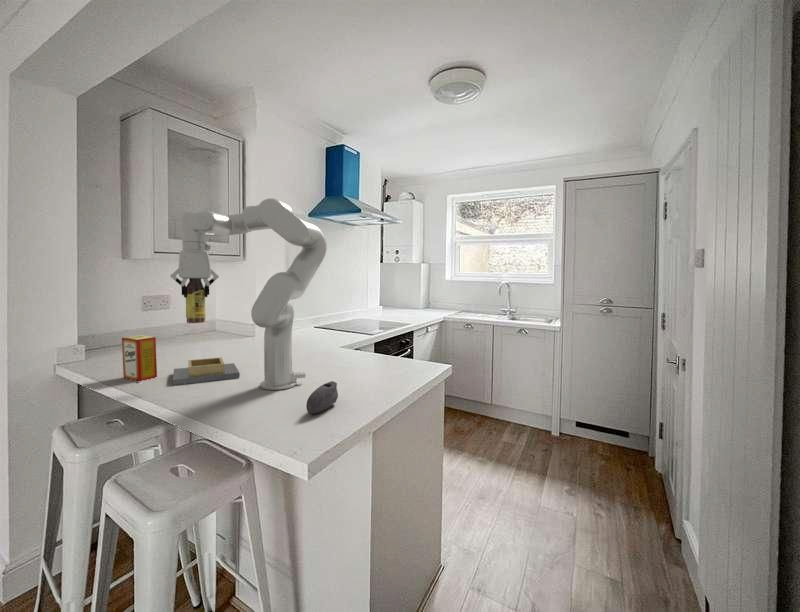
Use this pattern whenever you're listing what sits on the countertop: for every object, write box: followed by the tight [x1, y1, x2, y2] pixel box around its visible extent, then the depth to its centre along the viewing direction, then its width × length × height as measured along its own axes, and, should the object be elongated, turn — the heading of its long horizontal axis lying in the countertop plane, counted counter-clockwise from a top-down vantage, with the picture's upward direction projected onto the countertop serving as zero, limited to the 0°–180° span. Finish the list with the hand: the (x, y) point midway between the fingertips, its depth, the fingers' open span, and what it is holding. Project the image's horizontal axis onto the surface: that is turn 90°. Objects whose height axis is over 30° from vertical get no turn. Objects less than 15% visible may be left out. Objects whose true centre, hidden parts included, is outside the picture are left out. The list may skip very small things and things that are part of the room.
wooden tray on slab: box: [172, 356, 240, 386], centre depth 147 cm, size 22×18×6 cm
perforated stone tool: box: [306, 380, 339, 415], centre depth 112 cm, size 15×5×7 cm, turn 158°
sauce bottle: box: [185, 279, 206, 324], centre depth 137 cm, size 6×6×20 cm
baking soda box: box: [121, 334, 158, 382], centre depth 142 cm, size 10×6×16 cm
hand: (195, 296), depth 137 cm, fingers closed on sauce bottle, 6 cm apart
